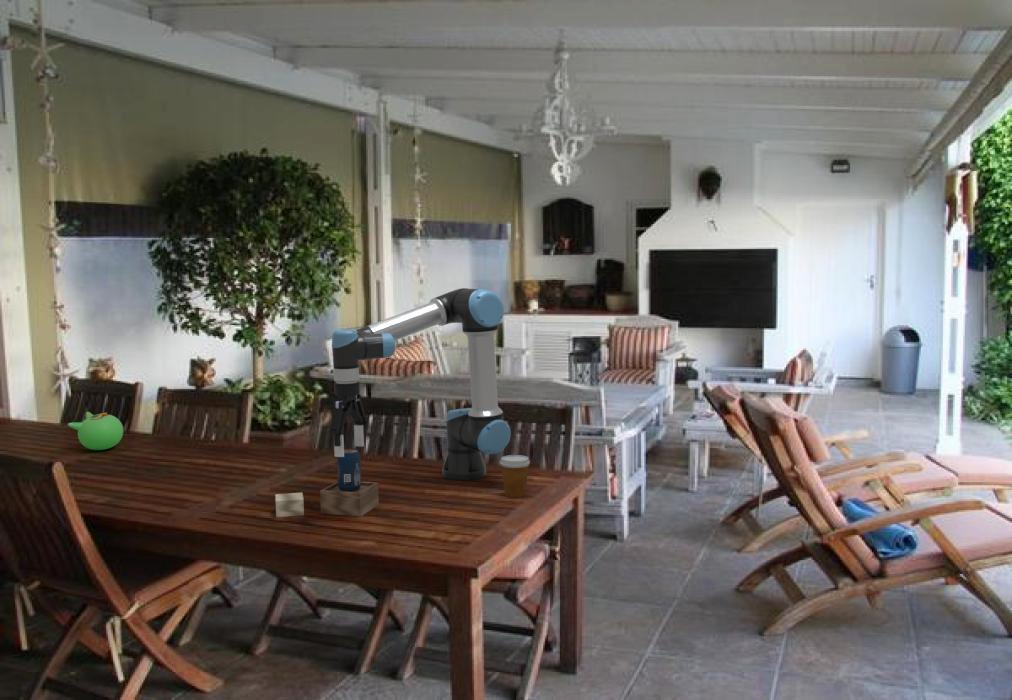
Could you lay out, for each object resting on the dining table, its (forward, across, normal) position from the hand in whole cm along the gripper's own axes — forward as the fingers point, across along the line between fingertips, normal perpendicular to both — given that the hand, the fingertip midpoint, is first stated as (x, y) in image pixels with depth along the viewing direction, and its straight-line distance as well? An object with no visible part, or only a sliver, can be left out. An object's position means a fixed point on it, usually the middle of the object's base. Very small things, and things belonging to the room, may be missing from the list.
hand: (349, 451), depth 288 cm
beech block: (+18, +8, -16) cm, 26 cm away
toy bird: (+17, -48, -131) cm, 141 cm away
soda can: (+12, 0, 0) cm, 12 cm away
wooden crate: (+18, 0, 0) cm, 18 cm away
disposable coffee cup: (+19, -28, +44) cm, 55 cm away
